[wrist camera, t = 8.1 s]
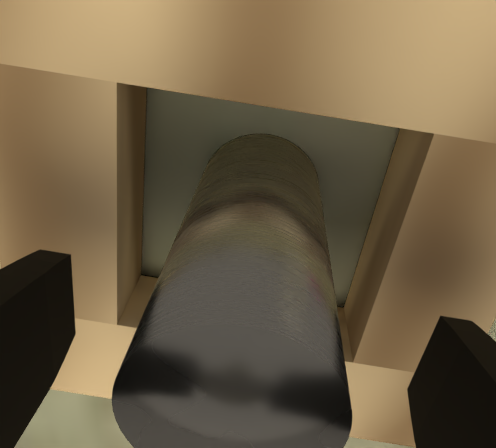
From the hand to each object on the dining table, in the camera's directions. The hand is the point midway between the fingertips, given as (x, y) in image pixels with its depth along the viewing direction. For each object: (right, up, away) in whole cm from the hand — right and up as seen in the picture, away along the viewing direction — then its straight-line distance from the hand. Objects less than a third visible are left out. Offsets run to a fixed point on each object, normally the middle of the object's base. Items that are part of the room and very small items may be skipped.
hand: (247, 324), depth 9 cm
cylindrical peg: (0, +3, +5) cm, 6 cm away
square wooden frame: (0, +3, +5) cm, 6 cm away
